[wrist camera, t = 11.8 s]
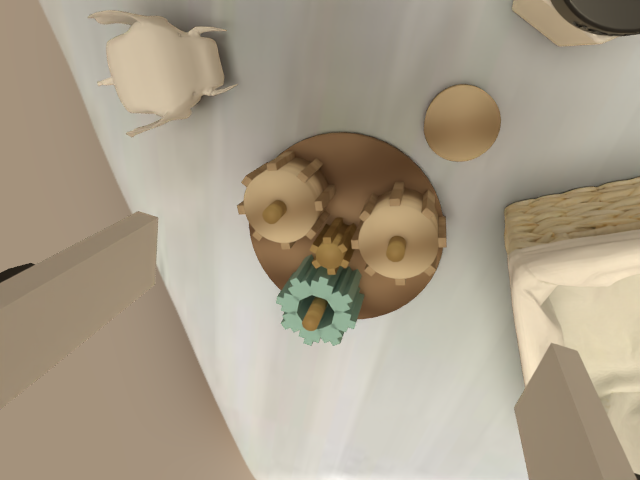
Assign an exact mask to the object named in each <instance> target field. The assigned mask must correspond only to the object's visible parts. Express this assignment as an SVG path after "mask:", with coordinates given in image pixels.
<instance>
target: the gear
mask: <svg viewBox="0 0 640 480" xmlns="http://www.w3.org/2000/svg"><path fill="white" fill-rule="evenodd" d="M313 259H314V257H313V256H312V254H311V255H309V256H307V257H305V258H304V260H303V261H302V263H301V265H300V266H299V268H298V269H297V271H296V272H293V274H292V275H291V277H290V278H289V280H288V281H287V283H286V284H285V286H284V287H283V289H282V290H281V292H280V293H279V295H278V296H277V301H276V303H277V304H280V305H282V308H281V311H284V314H283V320H282V322H281V324H282V326H283V327H284V328H285V330H286V329H288V328H291V329H292V331H293V332H296V331H298V330H300V333H299V337H302V338H305V339H304V344H307V345H310V346H311V345H312V343H313V341H314V342H317V343H319V341H320V338H322V340H323V341H324V343H326V342H329V341H330V342H331V344H332V345H333V346H335V345H337V344H340V343H341V340H342V337H343V334H344V332H346V331H347V328H348V327H349V328H352V329H354V328H355V324H356V321H357V318H358V315H359V312H360V309H361V305H362V302H363V299H364V296H365V295H364V294H361V293H359V291H360V288H359V287H358V286H359V283H360V279H361V276H362V275H361V273H360V272H359V270H358V269H356V270H354V271H352V270H351V268H350V266H349V267H347V268H345V269H343V267H342V266H339V268H338V271H337V273H336V275H328V273H327V268H324V267H322V266H320V267H318V268H317V269H316V268H315V267H314V266H313V264H312V263H311V262H312V261H313ZM315 296H316V297H319V298H322V299H325V300H327V301H328V305H327V307H326V309H325V311H324V313H323V316H322V318H321V320H320V322H319V325H318V327H317V329H316V330H314V331H308V330H306V329H305V328H304V327H303V325H302V321H303V319H304V317H305V315H306V313H307V311H308V309H309V307H310V306H311V304H312V302H313V300H314V298H315Z"/></svg>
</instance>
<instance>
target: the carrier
mask: <svg viewBox="0 0 640 480" xmlns="http://www.w3.org/2000/svg"><path fill="white" fill-rule="evenodd" d="M241 183H242V184H244V185H245V186H246V187H247V189H246V191H245V195H244V201H243V202H241V203H240V204H239V205H237V208H238V212H239V214H246V217H247V219H248V221H249V229H250V236H251V241H252V244H253V248H254V251H255V253H256V256H257V258H258V260H259V262H260V264H261V266H262V267H263V269H264V271H265V272H266V274H267V275H268V276H269V278H270V279H271V280H272V281H273V282H274V284H275V285H276V286H277V287H278V288H279V289H280V290H282V289H283V287H284V286H285V284H286V283H287V281H288V280H289V278H290V277H291V275H292V274H293V272H296V271H297V269H298V268H299V266H300V265H301V263H302V261H303V260H304V258H305V257H307V256H309V255H311V254H312V256H313V257H314V259H313V261H312V262H311V263H312V264H313V266H314V267H315V268H316V269H317V268H318V267H320V266H322V267H324V268H327V273H328V275H336V273H337V271H338V268H339V266H342V267H343V269H345V268H347V267H349V266H350V268H351V270H352V271H354V270H356V269H358V270H359V272H360V273H361V275H362V276H361V279H360V283H359V286H358V287H359V288H360V291H359V293H361V294H364V295H365V296H364V299H363V302H362V305H361V309H360V312H359V315H358V318H357V319H367V318H373V317H378V316H381V315H385V314H388V313H390V312H392V311H395V310H397V309H399V308H401V307H402V306H404V305H406V304H407V303H409V302H410V301H411V300H412V299H414V298H415V297H416V296H417V295H418V294H419V293H420V292H421V291H422V290H423V289H424V288H425V287H426V285H427V284H428V283H429V281H430V280H431V279H432V277H433V275H434V273H435V271H436V269H437V267H438V264H439V261H440V258H441V255H442V250H443V247H446V216H445V217H443V214H442V210H441V206H440V202H439V200H438V197H437V195H436V192H435V190H434V188H433V186H432V185H431V183H430V181H429V179H428V178H427V177H426V175H425V174H424V173H423V171H422V170H421V169H420V168H419V166H417V165H416V164H415V163H414V162H413V161H412V160H411V159H410V158H409V157H408V156H407V155H405V154H404V153H403V152H401V151H400V150H399V149H397V148H395V147H393V146H391V145H390V144H388V143H386V142H384V141H381V140H379V139H376V138H374V137H370V136H366V135H362V134H357V133H347V132H338V133H327V134H321V135H317V136H313V137H310V138H307V139H305V140H303V141H301V142H298V143H296V144H294V145H293V146H291V147H290V148H288V149H287V150H285V151H284V152H282V153H281V154H280V155H279V156H277V157H276V158H275V159H274V160H272V161H270V162H269V163H268V162H267V163H265V164H264V165H262V166H261V167H259V168H257V169H256V170H254V171H253V172H251V173H249V174H248V175H246V176H245V178H244V179H243V181H242V182H241ZM327 305H328V301H327V300H325V299H322V298H319V297H316V296H315V298H314V300H313V302H312V304H311V306H310V307H309V309H308V311H307V313H306V315H305V317H304V319H303V321H302V325H303V327H304V328H305V329H306V330H308V331H314V330H316V329H317V327H318V325H319V322H320V320H321V318H322V316H323V313H324V311H325V309H326V307H327Z"/></svg>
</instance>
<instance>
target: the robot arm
mask: <svg viewBox="0 0 640 480" xmlns="http://www.w3.org/2000/svg"><path fill="white" fill-rule="evenodd" d="M157 233H158V217H155V216H152V215H149V214H146V213H142V212H139V211H138V212H136V213H134V214H132V215H130V216H128V217H126V218H124V219H122V220H120V221H118V222H117V223H115V224H113V225H111V226H109V227H107V228H105V229H103V230H102V231H100V232H97V233H95V234H94V235H92V236H90V237H88V238H86V239H84V240H82V241H80V242H78V243H76V244H74V245H72V246H71V247H68V248H67V249H65V250H63V251H61V252H59V253H57V254H55V255H53V256H51V257H49V258H47V259H45V260H44V261H42V262H40V263H38V264H36V265H35V264H32V263H29V264H25V265H22V266H17V267H14V268H10V269H7V270H5V271H3V272H1V273H0V410H1V409H2V408H3V407H4V406H6V405H7V404H8V403H9V402H10V401H12V400H13V399H14V398H16V397H17V396H18V395H19V394H20V393H22V392H23V391H24V390H25V389H27V388H28V387H29V386H30V385H32V384H33V383H34V382H35V381H37V380H38V379H39V378H40V377H41V376H43V375H44V374H45V373H46V372H48V371H49V370H50V369H51V368H53V367H54V366H55V365H56V364H58V363H59V362H60V361H61V360H63V359H64V358H65V357H66V356H68V355H69V354H70V353H71V352H72V351H74V350H75V349H76V348H77V347H78V346H80V345H81V344H82V343H84V342H85V341H86V340H87V339H89V338H90V337H91V336H92V335H93V334H95V333H96V332H97V331H98V330H100V329H101V328H102V327H103V326H104V325H106V324H107V323H108V322H109V321H111V320H112V319H113V318H114V317H116V316H117V315H118V314H119V313H121V312H122V311H123V310H124V309H126V308H127V307H128V306H129V305H130V304H132V303H133V302H134V301H136V300H137V299H138V298H139V297H140V296H142V295H143V294H144V293H145V292H146V291H148V290H149V289H150V288H152V287H153V286H154V285H155V275H156V254H157ZM514 410H515V414H516V419H517V424H518V429H519V434H520V438H521V443H522V448H523V453H524V458H525V462H526V467H527V472H528V477H529V480H640V475H639V474H636V473H634V472H633V470H632V468H631V465H630V463H629V461H628V459H627V457H626V455H625V452H624V450H623V448H622V446H621V444H620V442H619V439H618V437H617V435H616V433H615V431H614V429H613V426H612V424H611V422H610V420H609V418H608V416H607V413H606V411H605V409H604V407H603V405H602V403H601V400H600V398H599V396H598V394H597V392H596V390H595V387H594V385H593V383H592V381H591V379H590V377H589V374H588V372H587V370H586V368H585V366H584V364H583V361H582V359H581V357H580V355H579V353H578V351H576V350H573V349H570V348H567V347H564V346H561V345H558V344H554V343H551V344H550V346H549V347H548V349H547V351H546V353H545V354H544V356H543V358H542V360H541V361H540V363H539V365H538V367H537V368H536V370H535V372H534V374H533V375H532V377H531V379H530V381H529V382H528V384H527V386H526V388H525V389H524V391H523V393H522V395H521V396H520V398H519V400H518V402H517V404H516V405H515V407H514Z"/></svg>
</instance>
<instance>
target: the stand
mask: <svg viewBox="0 0 640 480" xmlns="http://www.w3.org/2000/svg"><path fill="white" fill-rule="evenodd" d="M500 124H501V117H500V112H499V109H498V106H497V104H496V103H495V101H494V100H493V99H492V98H491V97H490V96H489V95H488V94H487V93H486V92H485V91H483V90H482V89H480V88H478V87H476V86H473V85H468V84H459V85H454V86H451V87H449V88H446V89H445V90H443V91H441V92H440V93H439V94H438V95H437V96H436V97H435V98H434V99H433V100H432V102H431V103H430V105H429V107H428V110H427V113H426V117H425V121H424V134H425V138H426V140H427V143H428V145H429V146H430V148H431V149H432V150H433V151H434V152H435V153H436V154H437V155H439V156H440V157H442V158H444V159H447V160H450V161H457V162H458V161H468V160H472V159H474V158H477V157H478V156H480V155H482V154H483V153H485V152H486V151H487V150H488V149H489V148H490V147H491V146H492V145H493V143H494V142H495V140H496V138H497V136H498V133H499V130H500Z"/></svg>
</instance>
